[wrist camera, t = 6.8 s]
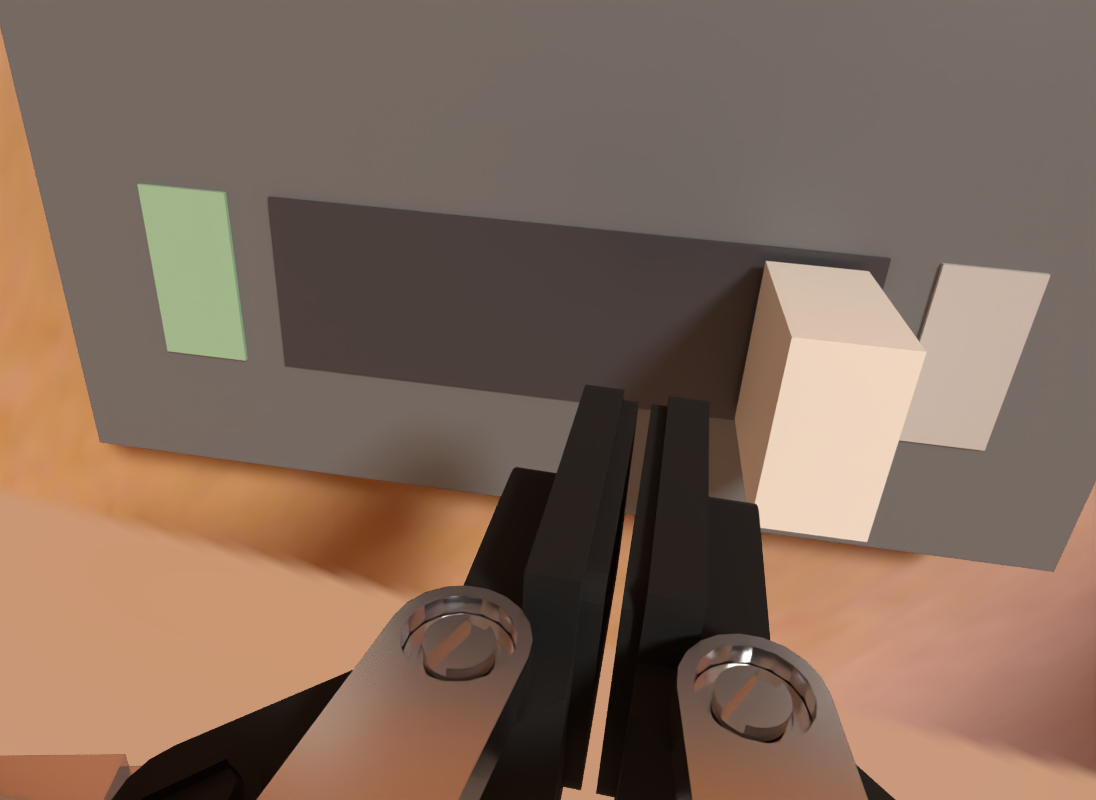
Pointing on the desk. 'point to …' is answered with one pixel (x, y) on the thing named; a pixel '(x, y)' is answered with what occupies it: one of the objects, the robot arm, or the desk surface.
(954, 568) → the desk surface
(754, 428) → the block
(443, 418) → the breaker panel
